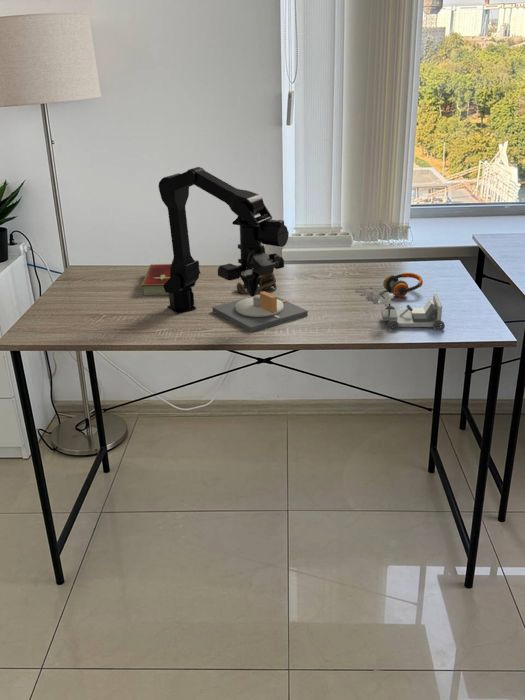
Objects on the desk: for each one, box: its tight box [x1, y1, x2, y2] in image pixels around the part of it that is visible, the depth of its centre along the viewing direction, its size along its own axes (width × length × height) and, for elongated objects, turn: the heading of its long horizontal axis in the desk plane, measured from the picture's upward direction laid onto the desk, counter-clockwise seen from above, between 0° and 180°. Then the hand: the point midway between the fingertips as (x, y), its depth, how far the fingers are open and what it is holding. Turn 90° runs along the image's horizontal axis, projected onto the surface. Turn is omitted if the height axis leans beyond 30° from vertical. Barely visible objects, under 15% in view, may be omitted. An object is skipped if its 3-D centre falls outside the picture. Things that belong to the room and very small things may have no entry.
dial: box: [236, 290, 284, 317], centre depth 213 cm, size 14×14×6 cm
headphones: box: [355, 272, 424, 304], centre depth 226 cm, size 16×5×20 cm
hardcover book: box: [141, 263, 172, 296], centre depth 240 cm, size 12×21×4 cm, turn 0°
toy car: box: [377, 291, 446, 331], centre depth 205 cm, size 18×10×12 cm
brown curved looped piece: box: [236, 272, 278, 294], centre depth 233 cm, size 7×13×10 cm
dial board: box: [212, 291, 309, 333], centre depth 215 cm, size 20×20×2 cm
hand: (252, 296), depth 204 cm, fingers closed
